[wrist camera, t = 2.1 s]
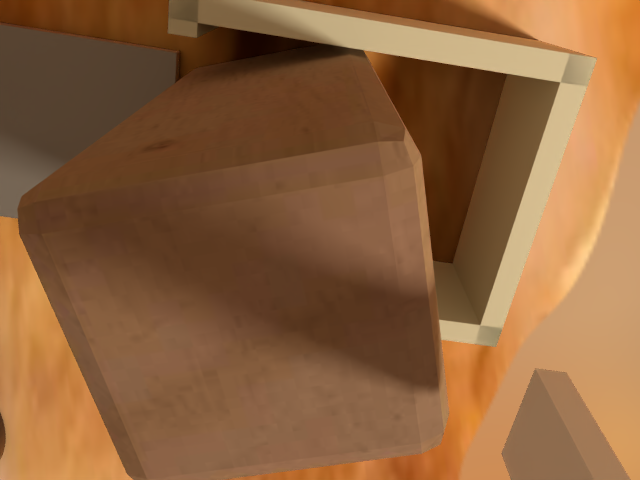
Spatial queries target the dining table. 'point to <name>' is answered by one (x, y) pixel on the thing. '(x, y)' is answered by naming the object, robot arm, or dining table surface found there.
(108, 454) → the dining table surface
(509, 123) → the crate
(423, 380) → the wooden block
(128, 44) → the trivet
